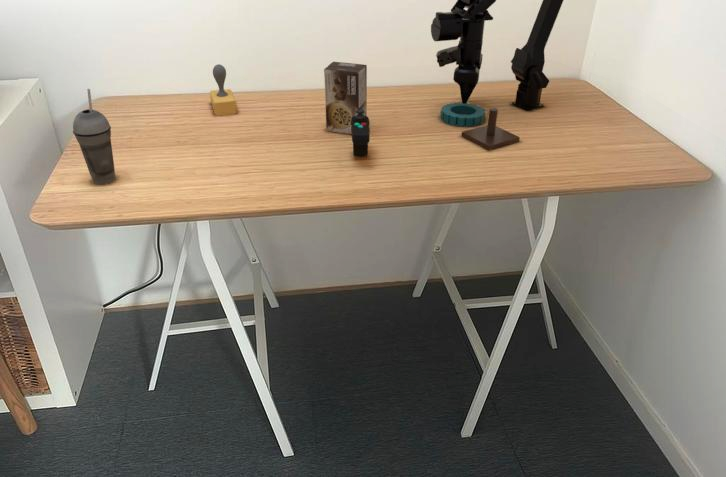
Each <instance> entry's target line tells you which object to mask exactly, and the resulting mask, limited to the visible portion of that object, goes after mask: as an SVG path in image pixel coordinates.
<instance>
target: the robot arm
mask: <svg viewBox="0 0 726 477" xmlns="http://www.w3.org/2000/svg"><path fill="white" fill-rule="evenodd" d="M496 1H497V0H456V2H455V3H454V5H453V6H452V7H451V9H450V11H448V12H443V11H436V12H435V17H434V18H433V19H432V23H431V24H430V34H431V38H432V40H433V42H443V41H444V42H447V41H457V40H458V39H459V40H458V44H457V45H454V46H450V47H447V48H443V49H441V50H438V51H437V52H436V54H435V56H436V62H437V64H438V67H439V68H442V67H445V66H447V65H450V64H454V63H455V65H456V66H457V67H455V68H454V71H453V78H452V80H453V82H454V83H456V84H457V85H458V86H459V91H460V99H461V102H462V103H463V104H466V103H468V101H469V100H470V97H471V96H472V94H473V92H474V90H475V88H476V86H477V85H478V83H479V80H480V72H481V67H482V63H483V56H484V55H483V53H482V49H483V43H484V42H483V41H484V40H483V39H484V31H485V23H486V21H493V20H494V16H493V15H491V14H490V12H489V10H488V9H489V8H490V7H492V6H493V5H494V4H495V3H496ZM563 3H564V0H542V2H541V4H540V7H539V10H538V12H537V15H536V17H535V21H534V23H533V26H532V28H531V31H530V33H529V37H528V39H527V41H526V44H525V45H524V46H522V47H521V48H519V47H515V48H516V49H515V50H514V54H513V57H512V59H511V60H510V63H511V68H510V69H511V71H512V74H513V75H514V78H515V80H516V81H518V82H519V83H518V86H517V90H516V94H515V100H514V101H511V105H513V106H515V107H518V108H520V109H523V110H525V111H532V110H535V109H539V108H544V103H541V98H542V92H543V89H547V87H548V85H549V83H550V79H549V78H548V77H547V75H546V74H545V73H544V72H543V71H544V66H545V63H546V61H545V60H546V59H545V48H546V46H547V44H548V41H549V38H550V36H551V33H552V31H553V28H554V25H555V23H556V20H557V18H558V16H559V13H560V11H561V8H562V5H563ZM465 8H466V9H465Z"/></svg>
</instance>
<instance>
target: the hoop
mask: <svg viewBox="0 0 726 477" xmlns="http://www.w3.org/2000/svg"><path fill="white" fill-rule="evenodd" d="M485 114H486V109H485V108H484V107H482V106H480V105H478V104H475V103H471V102H467V103H466V104H463V103H462V101H461V102H451V103H447V104H444V105H443V106H442V107H441V109H440V120H441V121H442V122H443V123H445V124H447V125H450V126H455V127H461V128H470V127H477V126H480V125H482V124H483V123H484V122H485V116H486V115H485Z"/></svg>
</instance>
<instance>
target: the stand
mask: <svg viewBox="0 0 726 477" xmlns="http://www.w3.org/2000/svg"><path fill="white" fill-rule="evenodd" d="M498 112H499V109H498V108H497V107H490V108H489V111H488V119H487V124H486V125H482V126H478V127H475V128H471V129H467V130H464V131H463V130H462V131H461V135H460V136H461V137H462V138H464V139H465V140H467V141H470V142H471V143H473V144H475V145H477V146H479V147H481V148H482V149H485V150H487V151H492V150H495V149H499V148H503V147H506V146H509V145H512V144H515V143H519V142H520V139H521V137H520V136H518V135H516V134H514V133H513V132H510V131H507V130H505V129H503V128H501V127H499V126H498V125H497V120H498Z"/></svg>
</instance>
